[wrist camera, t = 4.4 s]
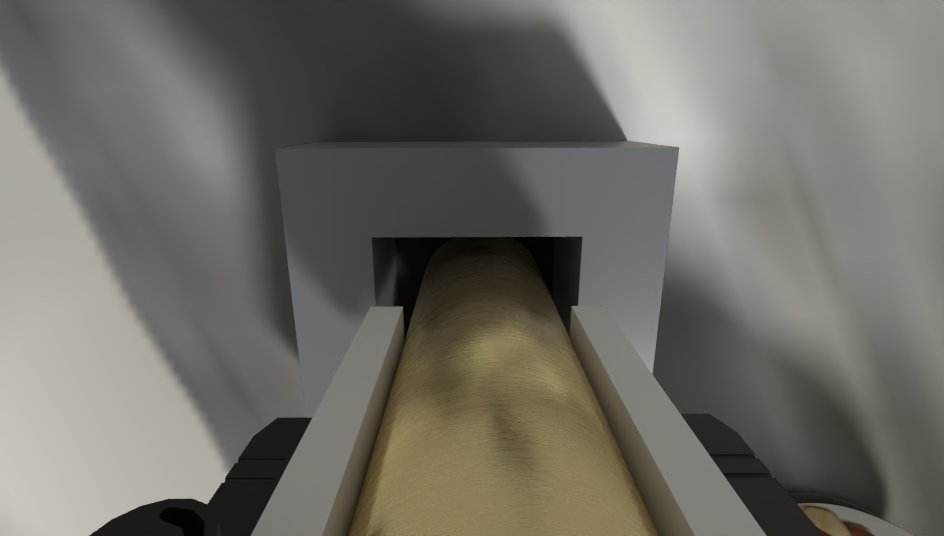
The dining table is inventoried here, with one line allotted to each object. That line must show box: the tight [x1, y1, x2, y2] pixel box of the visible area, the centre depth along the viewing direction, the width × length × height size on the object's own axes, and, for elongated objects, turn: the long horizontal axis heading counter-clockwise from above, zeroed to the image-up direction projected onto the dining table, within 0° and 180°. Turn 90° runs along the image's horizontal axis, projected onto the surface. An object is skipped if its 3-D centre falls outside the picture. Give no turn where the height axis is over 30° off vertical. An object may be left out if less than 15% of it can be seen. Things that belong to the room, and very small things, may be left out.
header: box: [274, 141, 679, 418], centre depth 15 cm, size 10×10×4 cm
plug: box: [348, 237, 658, 536], centre depth 10 cm, size 4×4×14 cm
